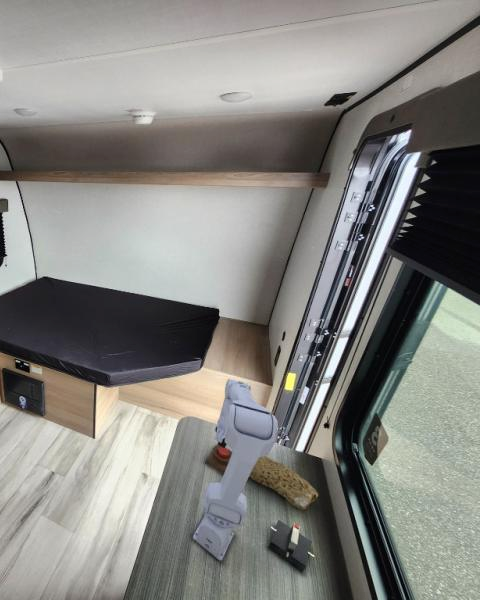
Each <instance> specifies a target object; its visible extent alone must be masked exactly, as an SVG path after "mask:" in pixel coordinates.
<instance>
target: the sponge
mask: <svg viewBox="0 0 480 600" xmlns="http://www.w3.org/2000/svg"><path fill="white" fill-rule="evenodd" d="M249 478H250V479H251V480H253V481H255V482H257V483H258V484H260V485H262V486H265V487H267V488H270V489H271V490H273V491H275V492H276V493H277V494H279V495H281V497H284V498H285V499H286V501H288V502H289V503H290V504H291V505H292V506H293V507H295V508H298V509H299V510H302V511H303V510H304V511H305V510H306V509H307V508H308V507H310V505H311V504H312V503H313V502H315V501H316V500H317V499H318V497H319V493H318V492H317V490H316V488H314V487H313V486H312V485H311V484H310V483H309V482H308V481H307V480H306V479H304V477H302V476H301V475H299V474H298V473H297V472H295V471H294V470H292V469H291V468H290V467H288V466H286V465H284V464H282V463H281V462H278V461H276V460H274V459H273V458H270V457H269V456H264V457H260V458H258V460H257V462H256V464H255V466H254V467H253V469H252V471H251V473H250V475H249Z"/></svg>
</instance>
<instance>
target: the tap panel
mask: <svg viewBox="0 0 480 600" xmlns="http://www.w3.org/2000/svg"><path fill="white" fill-rule="evenodd" d="M291 528H292V526H289V525H288V524H286V523H285V522H283V521H282V520H279V519H278V520H277V522H276V525H275V527H272V526H270V529H272V531H273V533H272V536H271V539H270V541H269V544H268V549H269V550H270V551H271V552H273V553H274V554H275V555H277V556H278V557H280V558H281V559H282V560H284V561H285V562H287V563H288V564H289V565H291V566H292V567H293V568H295V569H296V570H298V571H299V572H300V573H304V571H305V569H306V567H307V564H308V560H309V555H310V556H311V557H312V558H315V555H314V554H312V553H311V547H312V543H313V541H312V540H310V539H309V538H308V537H306V536H304V535H302V534H301V533H300V532H299V536H298V543H297V546H296V548H295V550H294V552H291V551H289V550H288V549H287V546H288V540H289V535H290V530H291Z"/></svg>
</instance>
